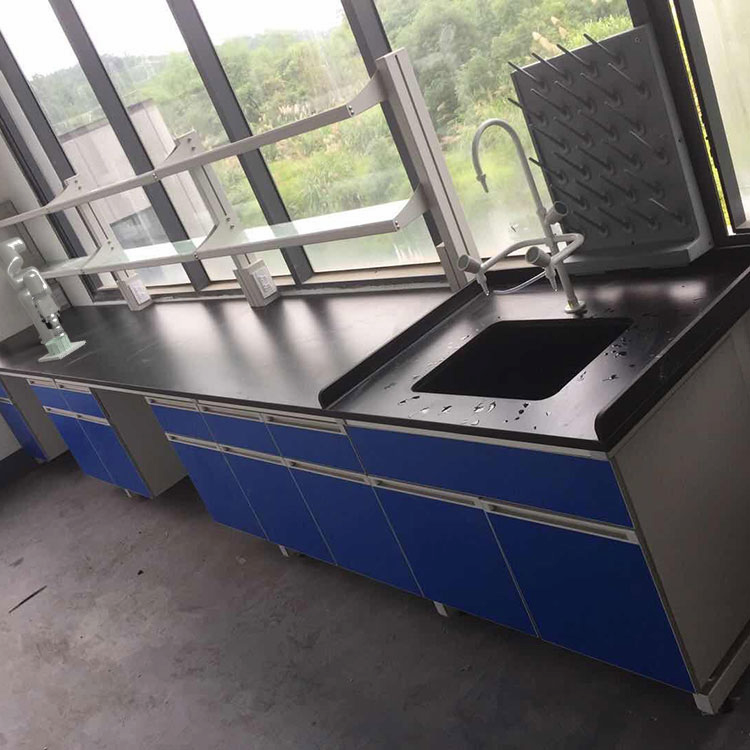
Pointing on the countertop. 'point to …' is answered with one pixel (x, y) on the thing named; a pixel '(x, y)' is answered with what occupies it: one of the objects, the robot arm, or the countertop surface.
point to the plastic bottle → (56, 326)
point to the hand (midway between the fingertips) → (55, 325)
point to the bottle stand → (60, 348)
